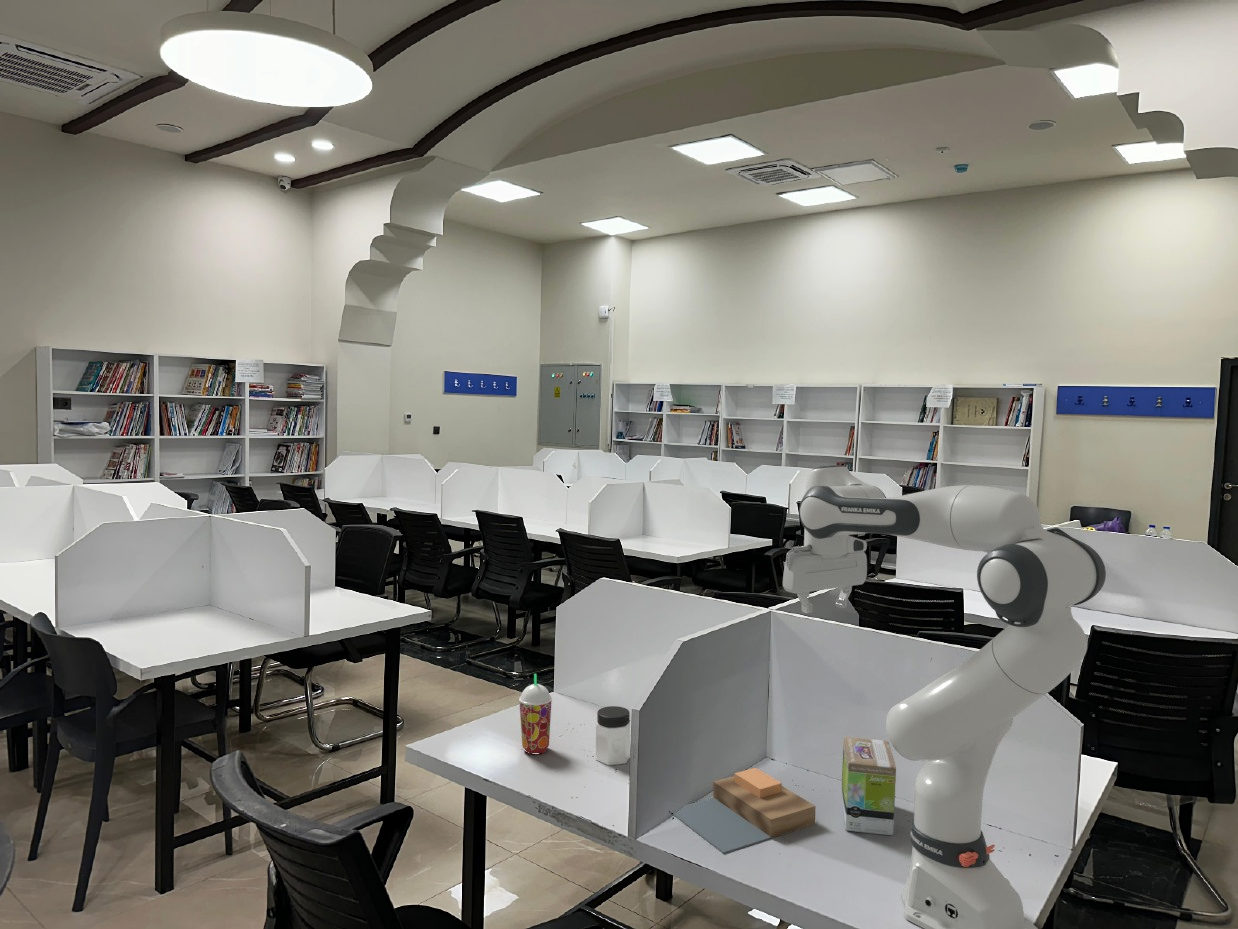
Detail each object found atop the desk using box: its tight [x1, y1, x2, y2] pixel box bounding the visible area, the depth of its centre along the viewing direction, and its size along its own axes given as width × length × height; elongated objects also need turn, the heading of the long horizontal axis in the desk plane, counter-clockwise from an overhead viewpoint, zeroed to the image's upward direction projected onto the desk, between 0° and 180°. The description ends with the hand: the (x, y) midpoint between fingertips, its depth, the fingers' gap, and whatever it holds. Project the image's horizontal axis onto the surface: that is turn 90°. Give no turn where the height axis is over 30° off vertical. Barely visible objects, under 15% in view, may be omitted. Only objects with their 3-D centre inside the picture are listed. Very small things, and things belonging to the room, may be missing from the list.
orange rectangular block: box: [733, 767, 783, 798], centre depth 186 cm, size 9×6×2 cm, turn 30°
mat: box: [673, 797, 772, 855], centre depth 177 cm, size 20×12×1 cm, turn 30°
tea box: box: [841, 736, 897, 836], centre depth 180 cm, size 15×10×15 cm
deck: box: [712, 775, 816, 839], centre depth 183 cm, size 20×12×4 cm, turn 30°
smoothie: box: [518, 673, 553, 754], centre depth 215 cm, size 8×8×20 cm
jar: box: [595, 705, 631, 766], centre depth 210 cm, size 9×8×12 cm
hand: (824, 609), depth 173 cm, fingers open, 8 cm apart
